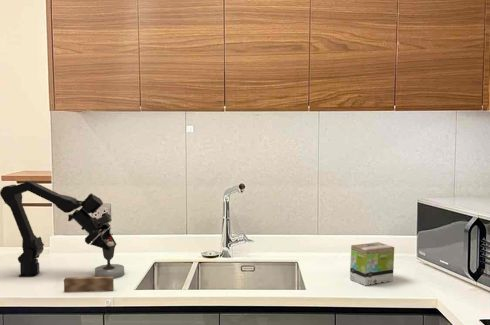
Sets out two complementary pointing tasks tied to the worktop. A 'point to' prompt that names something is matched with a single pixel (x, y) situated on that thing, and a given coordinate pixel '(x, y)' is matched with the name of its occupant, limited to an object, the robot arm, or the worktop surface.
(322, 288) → the worktop surface
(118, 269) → the slate plinth
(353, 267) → the tea box
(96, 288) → the brown wooden plank
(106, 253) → the sundae
